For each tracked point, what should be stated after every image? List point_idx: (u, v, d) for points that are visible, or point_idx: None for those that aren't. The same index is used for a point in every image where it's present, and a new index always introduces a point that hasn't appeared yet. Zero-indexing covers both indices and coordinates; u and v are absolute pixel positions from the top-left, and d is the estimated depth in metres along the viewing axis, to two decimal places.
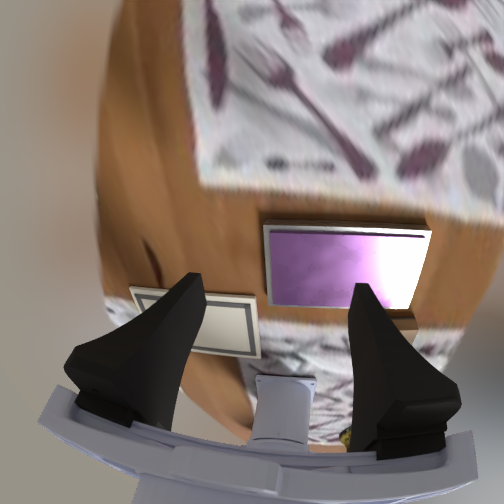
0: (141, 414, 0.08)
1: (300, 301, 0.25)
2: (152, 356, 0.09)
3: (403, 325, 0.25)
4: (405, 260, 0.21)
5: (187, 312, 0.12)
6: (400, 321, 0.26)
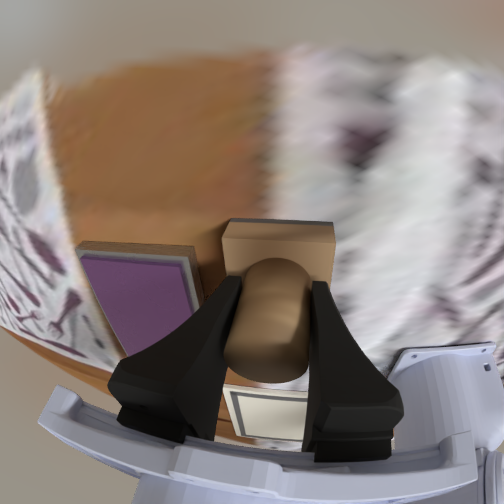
0: (194, 428, 0.08)
1: None
2: (204, 366, 0.09)
3: None
4: (110, 278, 0.17)
5: (231, 317, 0.12)
6: None
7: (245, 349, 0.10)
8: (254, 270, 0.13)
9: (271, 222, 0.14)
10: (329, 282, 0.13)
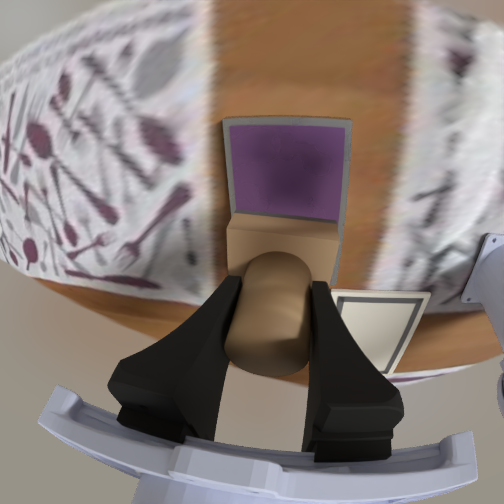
0: (194, 428, 0.08)
1: None
2: (204, 366, 0.09)
3: None
4: (262, 145, 0.18)
5: (231, 317, 0.12)
6: None
7: (248, 340, 0.10)
8: (257, 262, 0.13)
9: (276, 215, 0.14)
10: (329, 279, 0.13)
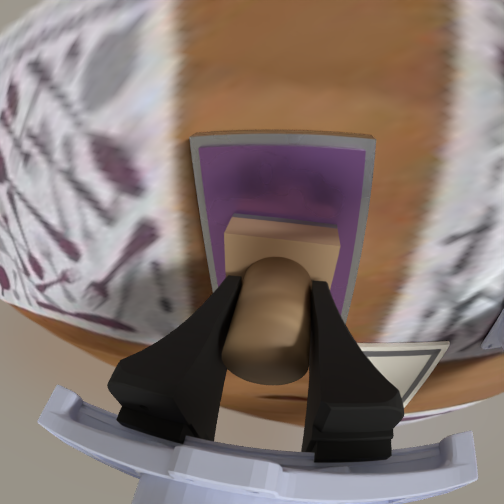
0: (194, 428, 0.08)
1: None
2: (204, 366, 0.09)
3: None
4: (246, 175, 0.13)
5: (231, 317, 0.12)
6: None
7: (245, 349, 0.10)
8: (255, 268, 0.13)
9: (275, 219, 0.14)
10: (330, 285, 0.13)
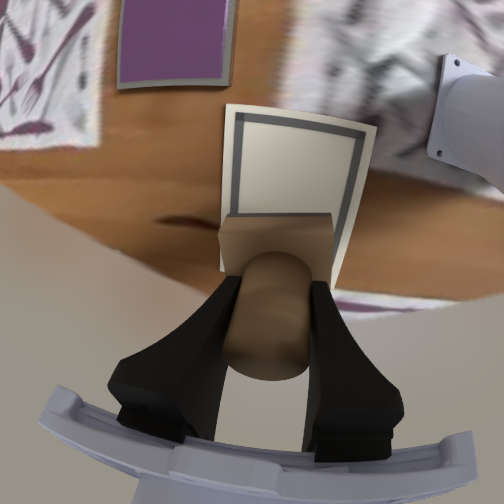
0: (194, 428, 0.08)
1: (214, 42, 0.14)
2: (204, 366, 0.09)
3: None
4: None
5: None
6: None
7: (243, 346, 0.10)
8: (252, 265, 0.13)
9: (268, 215, 0.14)
10: (330, 274, 0.13)
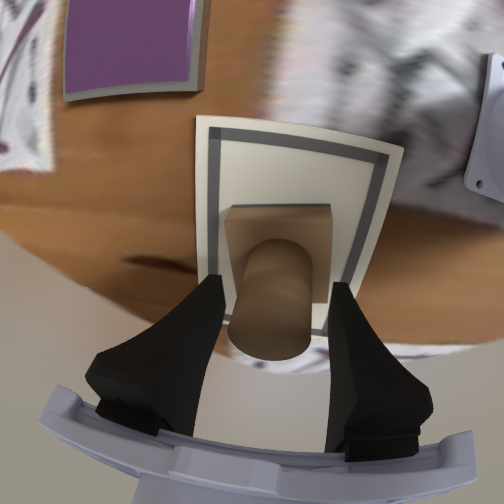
0: (168, 422, 0.08)
1: (176, 31, 0.09)
2: (178, 361, 0.09)
3: None
4: None
5: (209, 314, 0.12)
6: None
7: (248, 323, 0.10)
8: (256, 251, 0.13)
9: (271, 205, 0.14)
10: (329, 261, 0.14)
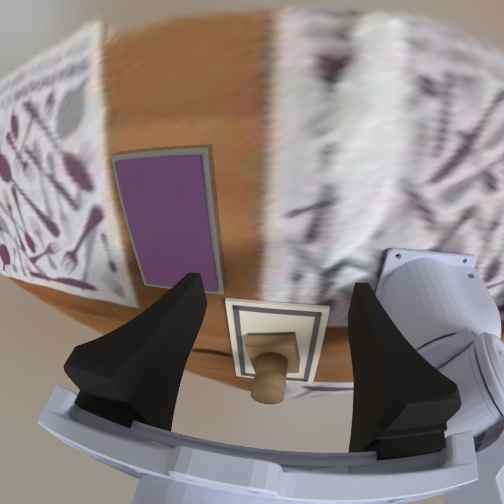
0: (141, 414, 0.08)
1: (208, 270, 0.25)
2: (152, 356, 0.09)
3: None
4: (138, 176, 0.21)
5: (187, 312, 0.12)
6: None
7: (258, 393, 0.25)
8: (260, 358, 0.28)
9: (266, 334, 0.29)
10: (295, 358, 0.28)
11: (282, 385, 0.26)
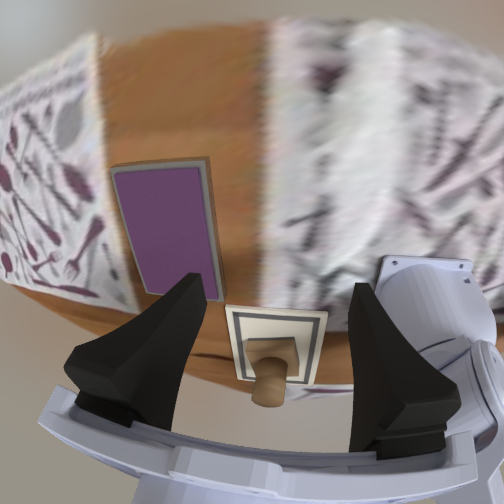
0: (141, 414, 0.08)
1: (208, 278, 0.25)
2: (152, 356, 0.09)
3: None
4: (138, 188, 0.21)
5: (187, 312, 0.12)
6: None
7: (259, 397, 0.26)
8: (260, 362, 0.29)
9: (266, 339, 0.30)
10: (295, 362, 0.29)
11: (282, 389, 0.26)
